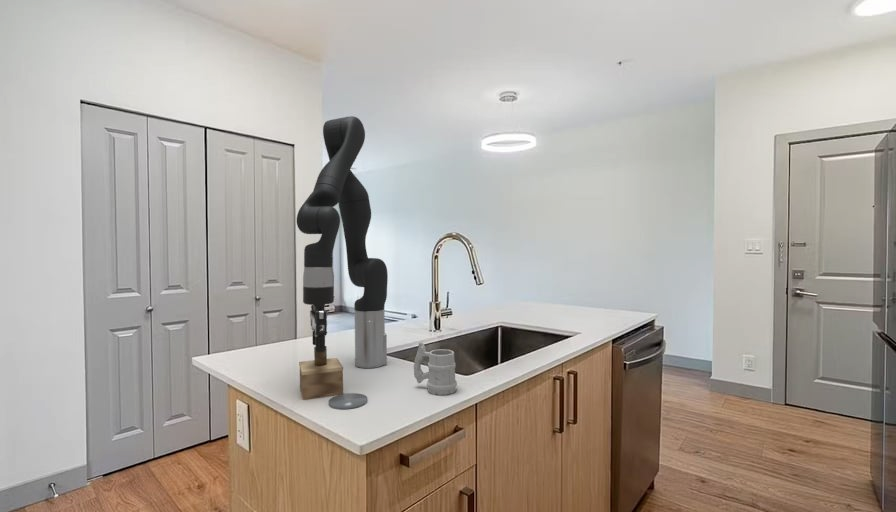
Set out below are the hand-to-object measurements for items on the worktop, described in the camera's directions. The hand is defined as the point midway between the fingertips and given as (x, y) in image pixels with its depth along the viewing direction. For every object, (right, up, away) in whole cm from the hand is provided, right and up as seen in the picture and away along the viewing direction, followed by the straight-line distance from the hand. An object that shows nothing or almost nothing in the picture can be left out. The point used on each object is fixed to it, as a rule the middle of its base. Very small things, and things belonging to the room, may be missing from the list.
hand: (318, 348), depth 110 cm
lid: (+1, -6, 0) cm, 6 cm away
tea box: (+1, -11, 0) cm, 11 cm away
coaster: (+9, -11, -8) cm, 17 cm away
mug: (+30, -11, +1) cm, 32 cm away
